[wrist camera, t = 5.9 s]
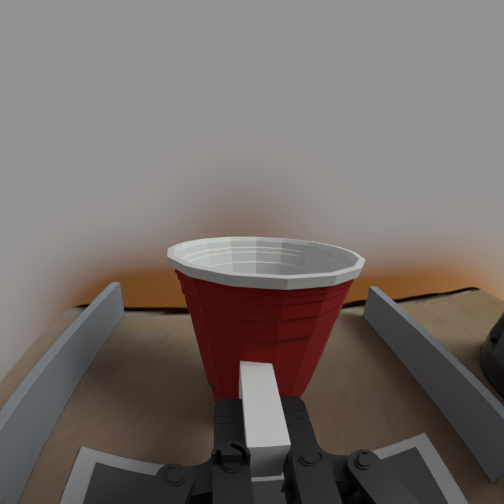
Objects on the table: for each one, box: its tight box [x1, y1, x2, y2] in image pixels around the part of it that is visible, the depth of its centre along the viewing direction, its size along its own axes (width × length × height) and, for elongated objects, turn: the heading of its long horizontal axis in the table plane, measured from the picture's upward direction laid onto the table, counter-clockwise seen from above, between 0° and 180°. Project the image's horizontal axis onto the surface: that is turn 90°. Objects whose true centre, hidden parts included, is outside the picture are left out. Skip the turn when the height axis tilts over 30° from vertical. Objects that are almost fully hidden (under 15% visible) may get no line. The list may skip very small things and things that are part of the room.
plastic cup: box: [167, 237, 365, 404], centre depth 16 cm, size 11×11×12 cm
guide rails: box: [0, 282, 504, 504], centre depth 17 cm, size 31×26×4 cm
